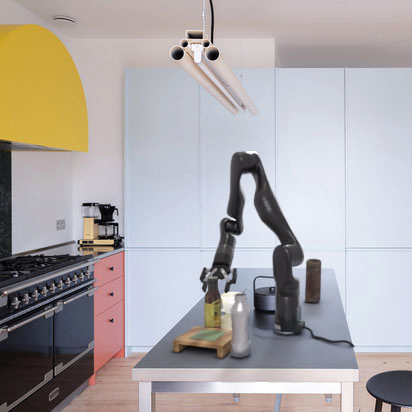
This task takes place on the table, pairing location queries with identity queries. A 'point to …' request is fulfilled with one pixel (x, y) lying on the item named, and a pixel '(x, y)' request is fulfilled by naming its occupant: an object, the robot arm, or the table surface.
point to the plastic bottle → (240, 327)
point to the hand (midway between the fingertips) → (214, 291)
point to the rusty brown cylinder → (313, 280)
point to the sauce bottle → (212, 304)
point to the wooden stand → (205, 339)
